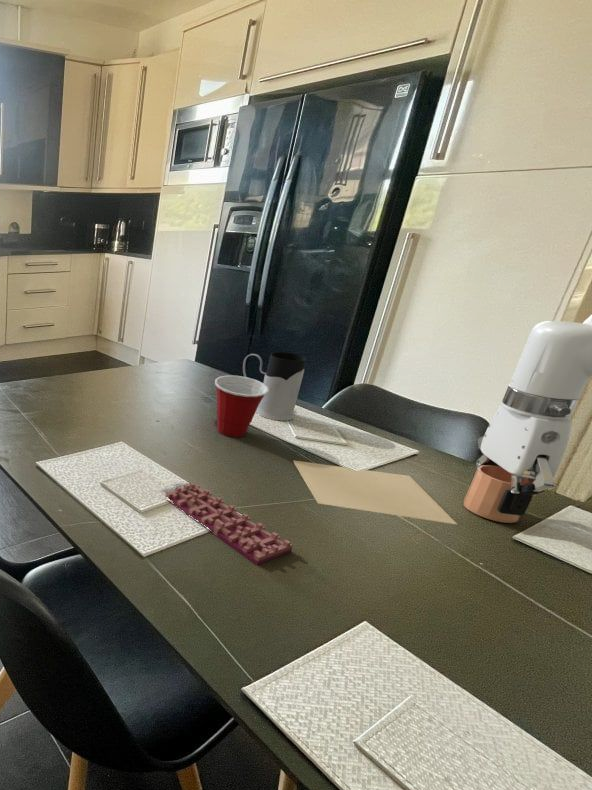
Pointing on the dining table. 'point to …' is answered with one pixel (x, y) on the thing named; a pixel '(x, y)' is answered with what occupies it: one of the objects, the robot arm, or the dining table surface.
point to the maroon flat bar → (229, 524)
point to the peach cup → (490, 493)
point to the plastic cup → (237, 403)
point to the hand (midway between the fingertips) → (494, 500)
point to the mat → (370, 491)
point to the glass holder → (280, 385)
